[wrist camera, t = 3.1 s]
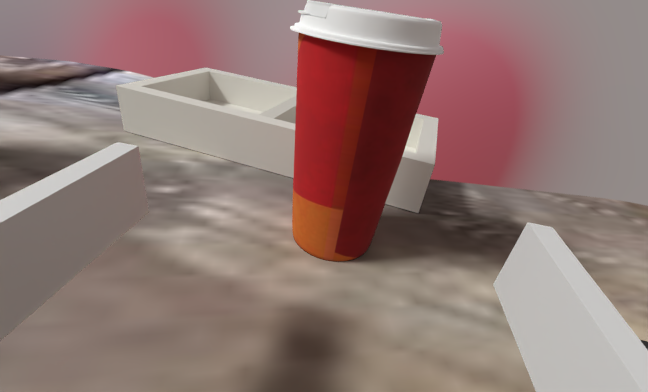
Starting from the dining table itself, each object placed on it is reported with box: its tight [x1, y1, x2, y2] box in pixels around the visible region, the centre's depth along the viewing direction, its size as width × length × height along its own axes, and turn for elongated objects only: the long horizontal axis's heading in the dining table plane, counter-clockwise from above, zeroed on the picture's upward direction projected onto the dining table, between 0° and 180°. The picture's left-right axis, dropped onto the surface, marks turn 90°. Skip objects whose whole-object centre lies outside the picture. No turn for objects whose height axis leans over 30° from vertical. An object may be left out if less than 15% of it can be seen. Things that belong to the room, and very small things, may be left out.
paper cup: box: [290, 0, 444, 261], centre depth 20 cm, size 8×8×14 cm
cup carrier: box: [116, 68, 438, 213], centre depth 35 cm, size 30×14×4 cm, turn 72°
